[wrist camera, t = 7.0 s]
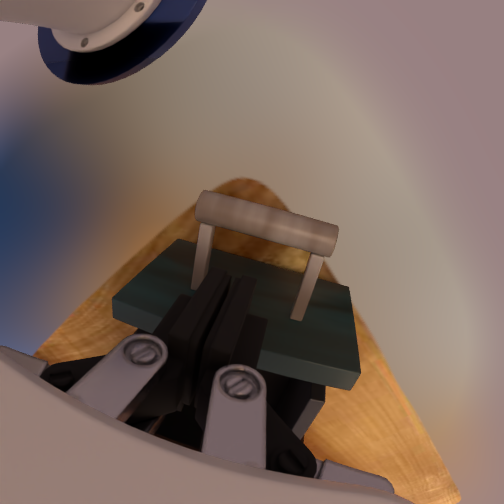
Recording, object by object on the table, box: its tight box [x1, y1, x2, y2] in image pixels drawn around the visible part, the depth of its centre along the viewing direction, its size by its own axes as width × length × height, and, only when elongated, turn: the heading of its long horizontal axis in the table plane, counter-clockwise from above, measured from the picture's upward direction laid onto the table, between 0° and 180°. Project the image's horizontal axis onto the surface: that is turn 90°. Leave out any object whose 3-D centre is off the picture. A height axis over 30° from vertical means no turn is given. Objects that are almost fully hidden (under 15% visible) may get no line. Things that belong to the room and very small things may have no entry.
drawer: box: [112, 190, 361, 449], centre depth 18 cm, size 18×11×8 cm, turn 168°
